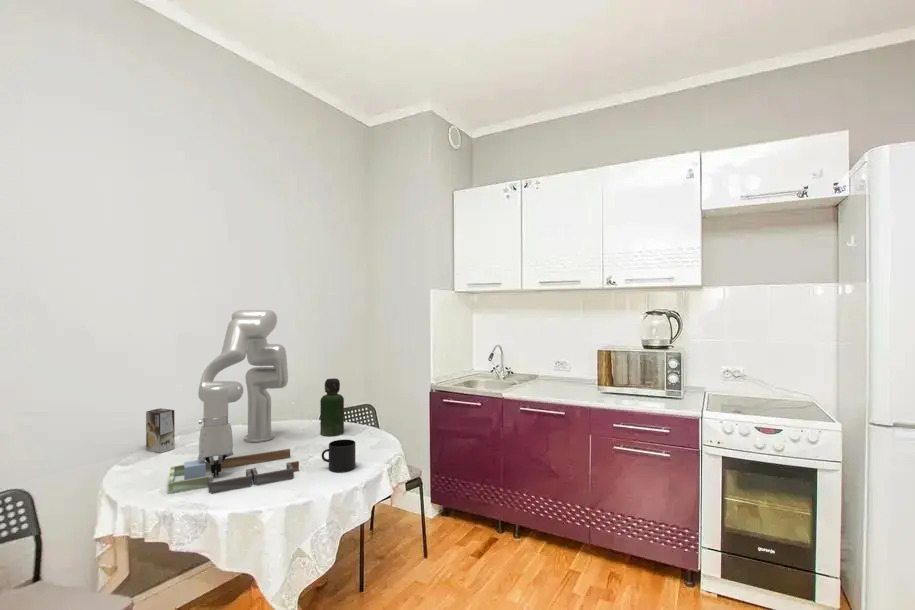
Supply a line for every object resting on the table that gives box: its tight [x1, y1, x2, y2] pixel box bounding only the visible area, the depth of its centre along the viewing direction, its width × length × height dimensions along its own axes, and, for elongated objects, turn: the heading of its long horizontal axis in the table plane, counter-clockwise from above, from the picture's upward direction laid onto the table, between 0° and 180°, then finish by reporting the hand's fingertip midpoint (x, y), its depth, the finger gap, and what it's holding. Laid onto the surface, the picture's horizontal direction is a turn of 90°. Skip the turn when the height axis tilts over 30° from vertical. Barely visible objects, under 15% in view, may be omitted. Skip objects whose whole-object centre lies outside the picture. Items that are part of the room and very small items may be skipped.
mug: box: [321, 439, 356, 473], centre depth 164 cm, size 9×12×9 cm
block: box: [183, 459, 207, 480], centre depth 152 cm, size 6×6×6 cm
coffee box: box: [145, 408, 176, 454], centre depth 186 cm, size 9×6×16 cm
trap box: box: [167, 448, 300, 495], centre depth 156 cm, size 24×39×3 cm, turn 120°
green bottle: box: [319, 377, 345, 437], centre depth 209 cm, size 10×10×25 cm
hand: (215, 474), depth 156 cm, fingers closed
